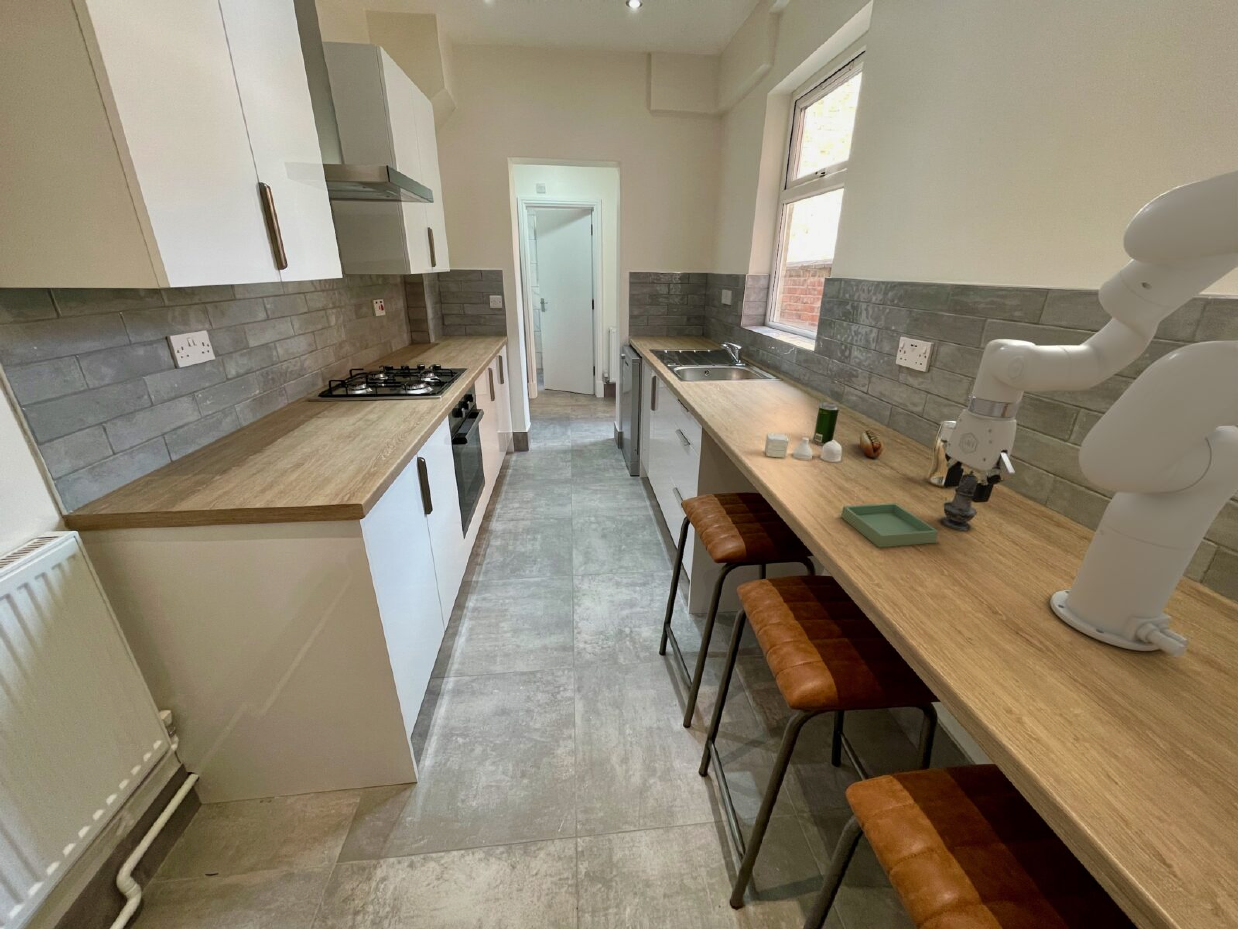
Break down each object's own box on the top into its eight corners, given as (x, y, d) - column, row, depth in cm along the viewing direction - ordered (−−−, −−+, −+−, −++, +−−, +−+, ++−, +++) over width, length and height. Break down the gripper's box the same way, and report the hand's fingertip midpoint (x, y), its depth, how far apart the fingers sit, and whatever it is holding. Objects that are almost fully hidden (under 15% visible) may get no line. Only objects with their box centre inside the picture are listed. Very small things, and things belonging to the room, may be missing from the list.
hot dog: (862, 459, 134) (866, 442, 133) (855, 443, 146) (859, 428, 144) (882, 461, 133) (886, 444, 131) (873, 445, 145) (877, 429, 143)
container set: (767, 457, 134) (769, 439, 132) (764, 451, 139) (766, 432, 137) (842, 462, 132) (846, 443, 130) (837, 455, 137) (841, 437, 134)
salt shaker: (977, 532, 98) (996, 477, 93) (945, 529, 99) (962, 474, 94) (964, 518, 103) (981, 466, 99) (934, 515, 104) (949, 463, 100)
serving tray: (935, 542, 94) (939, 531, 93) (878, 547, 92) (881, 535, 91) (892, 513, 105) (895, 502, 104) (840, 516, 103) (843, 506, 102)
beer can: (827, 447, 143) (834, 407, 138) (809, 442, 146) (816, 403, 142) (834, 443, 146) (842, 404, 142) (817, 438, 150) (824, 400, 145)
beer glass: (950, 491, 116) (969, 431, 110) (919, 482, 121) (935, 424, 115) (960, 483, 120) (978, 425, 114) (929, 475, 125) (945, 418, 119)
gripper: (939, 396, 99) (917, 477, 106) (1017, 421, 83) (985, 515, 90) (971, 395, 100) (947, 475, 107) (1054, 420, 84) (1020, 512, 91)
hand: (965, 493), depth 98 cm, fingers open, 6 cm apart
